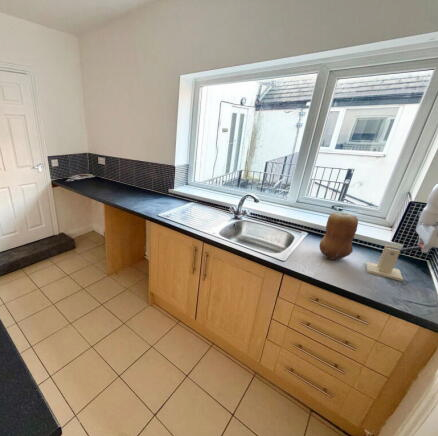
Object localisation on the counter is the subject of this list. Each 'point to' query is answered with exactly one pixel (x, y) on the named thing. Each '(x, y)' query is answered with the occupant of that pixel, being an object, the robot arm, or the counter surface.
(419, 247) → the lever
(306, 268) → the counter surface
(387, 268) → the stand
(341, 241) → the butternut squash
